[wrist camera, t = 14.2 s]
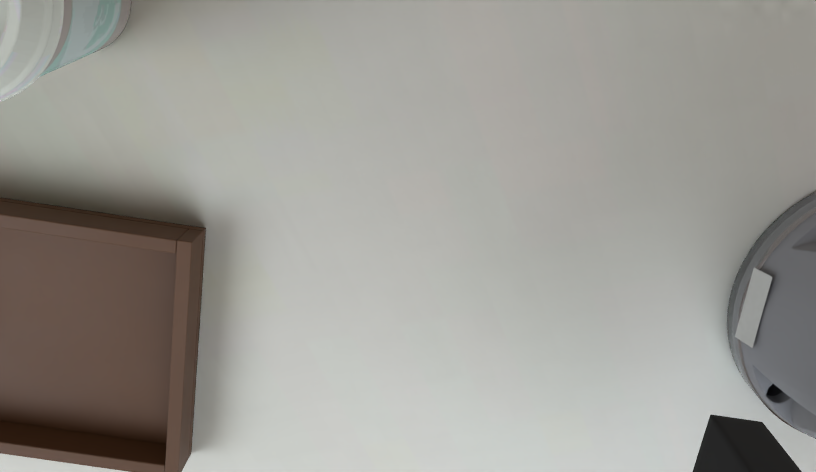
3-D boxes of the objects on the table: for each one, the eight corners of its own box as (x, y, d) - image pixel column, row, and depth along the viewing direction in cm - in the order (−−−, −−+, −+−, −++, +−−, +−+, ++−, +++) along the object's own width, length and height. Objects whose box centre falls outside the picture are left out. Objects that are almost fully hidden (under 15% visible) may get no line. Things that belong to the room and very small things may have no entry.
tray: (206, 227, 40) (192, 242, 38) (191, 453, 44) (177, 478, 42) (-97, 182, 40) (-131, 194, 37) (-82, 414, 44) (-111, 438, 42)
